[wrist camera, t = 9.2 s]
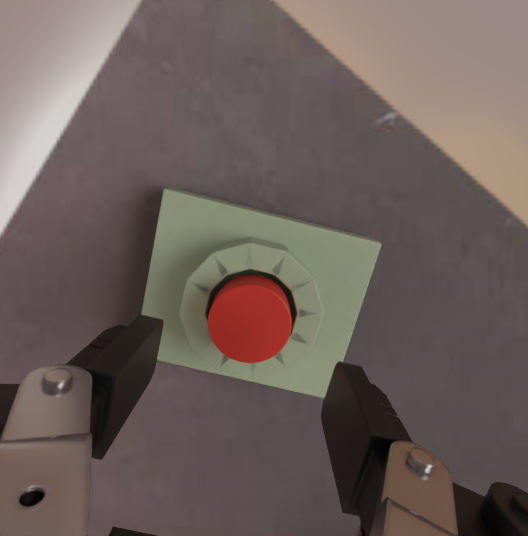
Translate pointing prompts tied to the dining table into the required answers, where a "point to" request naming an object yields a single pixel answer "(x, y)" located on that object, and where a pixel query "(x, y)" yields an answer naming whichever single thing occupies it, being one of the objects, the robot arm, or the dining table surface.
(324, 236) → the switch block
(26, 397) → the robot arm
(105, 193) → the dining table surface
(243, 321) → the button
